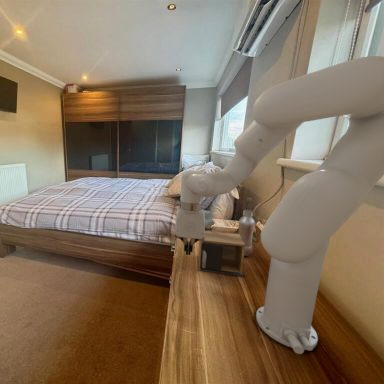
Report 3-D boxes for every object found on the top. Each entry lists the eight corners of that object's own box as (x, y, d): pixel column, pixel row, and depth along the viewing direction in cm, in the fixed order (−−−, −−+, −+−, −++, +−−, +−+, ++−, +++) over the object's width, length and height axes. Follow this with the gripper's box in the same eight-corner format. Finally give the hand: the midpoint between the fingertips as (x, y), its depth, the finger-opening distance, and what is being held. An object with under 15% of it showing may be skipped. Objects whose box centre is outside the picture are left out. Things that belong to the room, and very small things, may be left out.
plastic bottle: (247, 250, 93) (252, 208, 89) (254, 258, 87) (260, 213, 83) (232, 250, 94) (236, 208, 90) (239, 257, 87) (243, 213, 83)
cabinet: (243, 276, 74) (246, 246, 72) (199, 270, 78) (201, 241, 76) (235, 260, 85) (238, 233, 82) (198, 256, 89) (199, 230, 87)
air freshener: (205, 223, 128) (206, 208, 127) (216, 227, 121) (217, 211, 119) (192, 227, 123) (193, 211, 121) (203, 231, 116) (205, 214, 114)
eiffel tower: (256, 234, 111) (262, 190, 106) (256, 241, 102) (261, 193, 97) (235, 230, 116) (239, 188, 112) (232, 237, 108) (237, 191, 103)
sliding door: (222, 276, 73) (224, 250, 71) (200, 273, 75) (202, 248, 73) (220, 269, 77) (222, 245, 75) (200, 266, 79) (201, 242, 77)
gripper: (168, 207, 70) (166, 255, 74) (215, 210, 66) (210, 261, 70) (170, 201, 77) (168, 246, 81) (212, 204, 73) (208, 251, 77)
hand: (188, 253), depth 75 cm, fingers closed
